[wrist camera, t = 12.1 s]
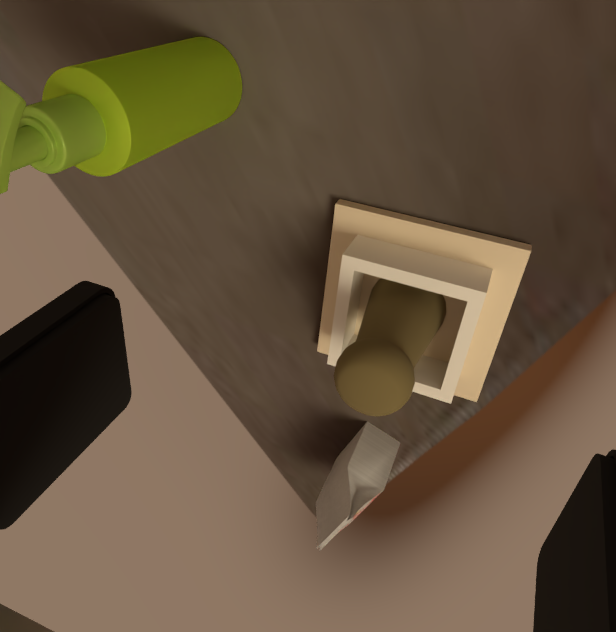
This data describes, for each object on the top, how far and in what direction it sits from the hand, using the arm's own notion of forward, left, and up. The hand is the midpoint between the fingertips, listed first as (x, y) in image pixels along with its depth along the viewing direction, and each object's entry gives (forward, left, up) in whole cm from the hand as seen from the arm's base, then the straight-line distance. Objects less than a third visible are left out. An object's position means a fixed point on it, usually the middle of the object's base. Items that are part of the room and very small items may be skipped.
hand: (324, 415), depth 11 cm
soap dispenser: (+2, -20, -31) cm, 37 cm away
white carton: (+34, -3, -31) cm, 46 cm away
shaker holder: (+16, -2, -30) cm, 34 cm away
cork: (+16, -2, -30) cm, 34 cm away
